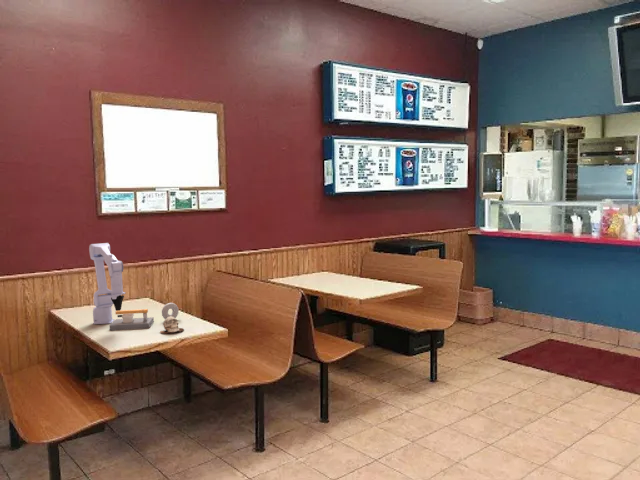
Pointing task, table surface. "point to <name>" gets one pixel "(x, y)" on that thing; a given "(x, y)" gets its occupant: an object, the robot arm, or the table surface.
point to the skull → (171, 325)
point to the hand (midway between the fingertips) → (118, 310)
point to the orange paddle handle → (131, 311)
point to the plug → (127, 318)
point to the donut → (167, 307)
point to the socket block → (136, 324)
